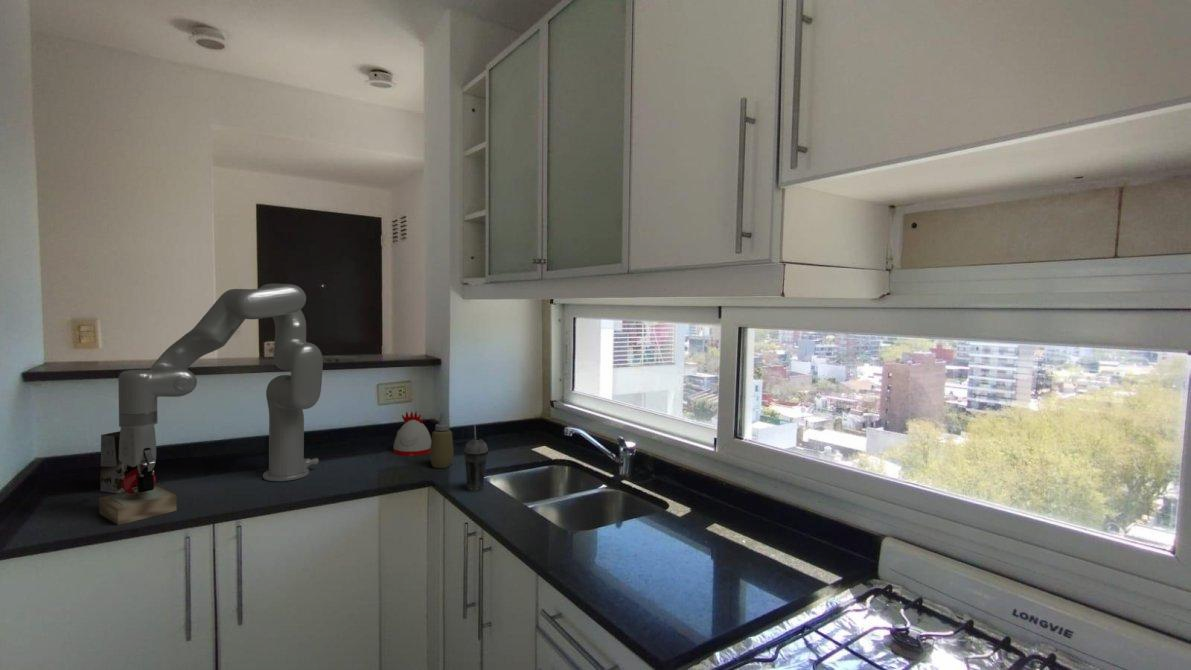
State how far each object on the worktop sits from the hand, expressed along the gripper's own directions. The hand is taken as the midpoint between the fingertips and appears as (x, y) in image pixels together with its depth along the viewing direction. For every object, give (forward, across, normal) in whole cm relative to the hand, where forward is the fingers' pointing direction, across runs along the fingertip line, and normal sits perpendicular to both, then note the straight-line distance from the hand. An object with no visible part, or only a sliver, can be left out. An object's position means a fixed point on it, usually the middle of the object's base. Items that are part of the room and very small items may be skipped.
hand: (139, 487), depth 141 cm
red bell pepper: (+1, 0, 0) cm, 1 cm away
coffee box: (+7, -24, +5) cm, 25 cm away
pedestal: (+6, 0, 0) cm, 6 cm away
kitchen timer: (+7, +5, +82) cm, 82 cm away
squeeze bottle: (+7, +28, +75) cm, 80 cm away
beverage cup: (+7, +54, +65) cm, 84 cm away
